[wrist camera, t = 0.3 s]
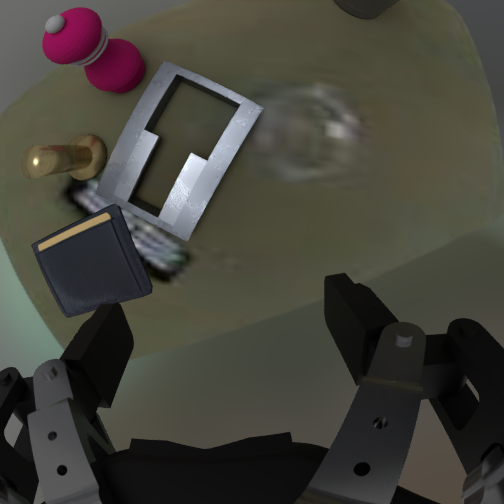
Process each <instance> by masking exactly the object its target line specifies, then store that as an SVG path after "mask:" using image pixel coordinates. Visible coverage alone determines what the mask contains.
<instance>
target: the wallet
mask: <svg viewBox="0 0 504 504" xmlns="http://www.w3.org/2000/svg"><path fill="white" fill-rule="evenodd" d="M31 246H32V248H33V251H34V253H35V256H36V259H37V262H38V264H39V266H40V269H41V271H42V273H43V275H44V278H45V280H46V282H47V284H48V286H49V288H50V290H51V292H52V294H53V296H54V298H55V300H56V302H57V304H58V306H59V308H60V309H61V311H62V313H63V314H64V315H65V316H66V317H67V318H68V317H72V316H76V315H80V314H83V313H87V312H90V311H93V310H96V309H97V308H98V307H99V306H100V305H101V304H105V303H121V302H125V301H128V300H132V299H136V298H140V297H144V296H146V295H148V294H151V293H152V287H153V286H152V283H151V281H150V278H149V276H148V274H147V272H146V269H145V267H144V265H143V263H142V261H141V258H140V256H139V254H138V252H137V249H136V247H135V245H134V242H133V240H132V237H131V234H130V232H129V229H128V227H127V224H126V221H125V219H124V217H123V214H122V211H121V209H120V206H118V205H116V204H113V205H111V206H108V207H106V208H104V209H102V210H100V211H98V212H96V213H94V214H91V215H89V216H87V217H85V218H83V219H81V220H79V221H77V222H75V223H72V224H70V225H68V226H66V227H64V228H62V229H60V230H58V231H56V232H54V233H53V234H51V235H49V236H47V237H45V238H43V239H41V240H39V241H37V242H35V243H34V244H32V245H31Z"/></svg>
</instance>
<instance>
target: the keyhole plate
mask: <svg viewBox="0 0 504 504" xmlns="http://www.w3.org/2000/svg"><path fill="white" fill-rule="evenodd" d="M181 81H182V82H184V83H186V84H188V85H191V86H193V87H195V88H197V89H199V90H201V91H203V92H206V93H208V94H210V95H212V96H214V97H216V98H218V99H220V100H222V101H224V102H226V103H228V104H230V105H232V106H234V107H235V108H237V109H238V110H237V112H236V113H235V115H234V117H233V118H232V120H231V122H230V123H229V125H228V126H227V128H226V130H225V131H224V133H223V135H222V136H221V138H220V140H219V142H218V143H217V145H216V147H215V148H214V150H213V152H212V154H211V155H210V157H209V159H208V161H207V160H205V159H203V158H201V157H199V156H197V155H195V154H194V153H191V154H190V156H189V158H188V160H187V162H186V163H185V165H184V167H183V169H182V171H181V173H180V175H179V177H178V178H177V180H176V182H175V184H174V186H173V188H172V190H171V192H170V194H169V196H168V198H167V200H166V202H165V204H164V206H163V209H162V210H160V209H158V208H156V207H154V206H152V205H150V204H148V203H146V202H144V201H142V200H140V199H139V198H137V197H135V196H133V193H134V191H135V189H136V186H137V184H138V182H139V180H140V178H141V176H142V173H143V171H144V169H145V167H146V165H147V163H148V161H149V159H150V157H151V155H152V153H153V151H154V149H155V147H156V145H157V144H158V142H159V140H160V138H161V137H159V136H157V135H155V134H153V133H151V132H152V130H153V129H154V127H155V125H156V123H157V121H158V119H159V118H160V116H161V114H162V112H163V111H164V109H165V107H166V106H167V104H168V102H169V100H170V99H171V97H172V96H173V94H174V92H175V91H176V89H177V87H178V86H179V84H180V83H181ZM262 109H263V107H261V106H259V105H258V104H256V103H254V102H252V101H250V100H248V99H247V98H245V97H243V96H241V95H239V94H237V93H235V92H233V91H231V90H229V89H227V88H225V87H223V86H221V85H219V84H217V83H215V82H213V81H211V80H209V79H206V78H204V77H202V76H200V75H198V74H195V73H193V72H191V71H189V70H186V69H184V68H182V67H179V66H177V65H174V64H172V63H169V62H167V61H164V62H163V63H162V65H161V66H160V68H159V69H158V71H157V72H156V74H155V75H154V77H153V79H152V80H151V82H150V83H149V85H148V87H147V88H146V90H145V92H144V93H143V95H142V97H141V98H140V100H139V102H138V104H137V105H136V107H135V109H134V111H133V113H132V115H131V116H130V118H129V120H128V122H127V124H126V126H125V128H124V130H123V132H122V134H121V136H120V138H119V140H118V142H117V144H116V146H115V148H114V151H113V153H112V155H111V157H110V159H109V162H108V164H107V166H106V169H105V171H104V173H103V176H102V178H101V181H100V183H99V186H98V188H97V191H96V194H98V195H99V196H101V197H103V198H105V199H107V200H109V201H111V202H113V203H114V204H116V205H118V206H120V207H122V208H124V209H126V210H128V211H129V212H131V213H133V214H135V215H137V216H139V217H141V218H143V219H145V220H147V221H148V222H150V223H152V224H154V225H156V226H158V227H160V228H162V229H164V230H166V231H168V232H170V233H172V234H174V235H175V236H177V237H179V238H181V239H183V240H185V241H187V242H188V240H189V238H190V236H191V234H192V232H193V230H194V228H195V226H196V224H197V222H198V220H199V218H200V217H201V215H202V213H203V211H204V209H205V207H206V205H207V204H208V202H209V200H210V198H211V196H212V194H213V193H214V191H215V189H216V187H217V185H218V184H219V182H220V180H221V178H222V176H223V175H224V173H225V171H226V169H227V168H228V166H229V164H230V162H231V161H232V159H233V157H234V156H235V154H236V152H237V150H238V149H239V147H240V145H241V144H242V142H243V140H244V139H245V137H246V135H247V134H248V132H249V130H250V129H251V127H252V126H253V124H254V122H255V121H256V119H257V117H258V116H259V114H260V113H261V111H262Z"/></svg>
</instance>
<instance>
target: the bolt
mask: <svg viewBox="0 0 504 504" xmlns="http://www.w3.org/2000/svg"><path fill="white" fill-rule="evenodd" d="M106 161H107V149H106V146H105V144H104V142H103V141H102V140H101V139H100V138H99V137H97V136H94V135H80V136H78V137H76V138H75V139H74V140H73V141H72V142H71V143H70V144H69V145H41V146H30V147H28V148H27V149H26V150H25V152H24V153H23V156H22V159H21V169H22V172H23V174H24V175H25V177H27V178H29V179H33V178H37V177H42V176H47V175H53V174H58V173H64V172H69V174H70V175H71V176H72V177H73V178H75V179H78V180H85V179H90V178H93V177H95V176H97V175H98V174H99V173H100V172H101V171H102V170H103V168H104V166H105V164H106Z"/></svg>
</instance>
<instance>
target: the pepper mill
mask: <svg viewBox="0 0 504 504" xmlns="http://www.w3.org/2000/svg"><path fill="white" fill-rule="evenodd" d="M45 28H46V32H45V34H44V37H43V43H42V47H43V51H44V53H45V55H46V57H47V58H48V59H49V60H51V61H52V62H54V63H58V64H62V65H63V64H71V65H72V66H74V67H83V66H84V68H85V73H86V76H87V78H88V80H89V81H90V83H91V84H92V85H93V86H95V87H96V88H98V89H100V90H103V91H112V92H114V93H124V92H127V91H130V90H131V89H133V88H134V87H135V86H137V84H138V83H139V82H140V81H141V79H142V77H143V75H144V72H145V66H144V62H143V60H142V59H141V58H140V53H139V51H138V49H137V48H136V47H135V46H134V45H133V44H132V43H130V42H129V41H126V40H122V39H108V33H107V31H106V30H105V28H103V27H102V23H101V19H100V17H99V16H98V14H97V13H95V12H94V11H93V10H91V9H88V8H73V9H69V10H67V11H65V12H63V13H62V14H60V15H56V16H53V17H51V18H50V19H49V20H48V21H47V23H46V26H45Z"/></svg>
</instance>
